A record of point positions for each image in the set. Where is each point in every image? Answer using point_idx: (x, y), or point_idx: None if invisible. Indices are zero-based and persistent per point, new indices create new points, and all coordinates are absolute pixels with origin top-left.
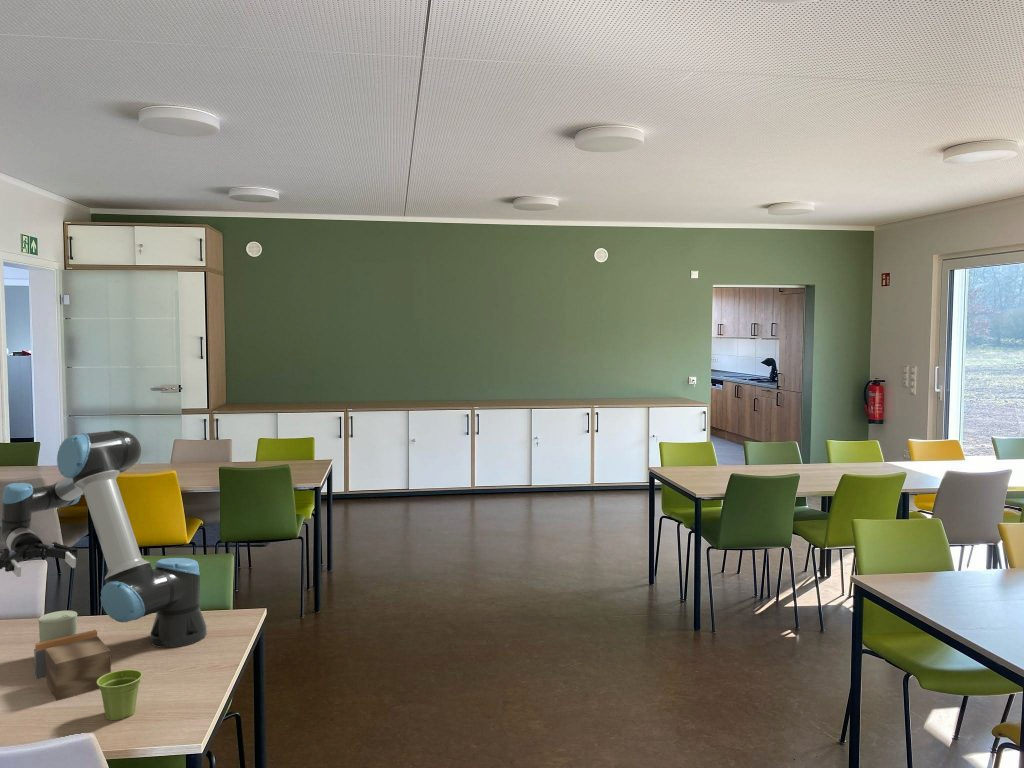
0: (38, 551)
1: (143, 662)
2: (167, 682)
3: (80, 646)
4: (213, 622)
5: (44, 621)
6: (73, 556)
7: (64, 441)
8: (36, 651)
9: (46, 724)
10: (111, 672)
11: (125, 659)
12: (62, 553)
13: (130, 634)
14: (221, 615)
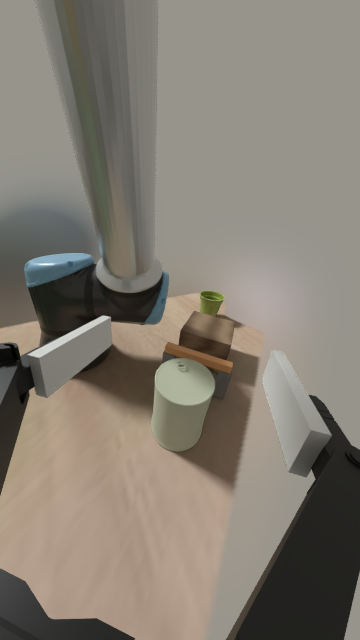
0: (18, 587)
1: (146, 342)
2: (166, 317)
3: (204, 328)
4: (19, 349)
5: (210, 378)
6: (87, 323)
7: None
8: None
9: (242, 332)
10: (211, 300)
11: (146, 357)
12: (13, 397)
13: (69, 405)
14: None
